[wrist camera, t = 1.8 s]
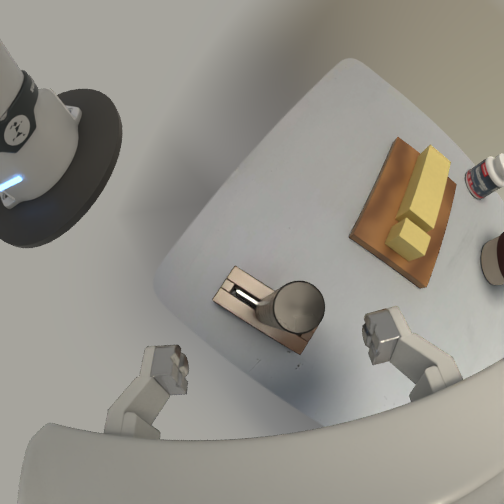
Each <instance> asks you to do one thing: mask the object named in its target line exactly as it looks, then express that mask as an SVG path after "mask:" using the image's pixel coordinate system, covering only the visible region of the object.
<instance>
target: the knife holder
mask: <svg viewBox="0 0 504 504" xmlns="http://www.w3.org/2000/svg"><path fill="white" fill-rule="evenodd" d="M234 288H237V289H239V290H240V291H242V292H243V293H245V294H246V295H248V296H249V297H251V298H253V299H254V300H256V301H257V302H259V301H260V300H261V299H263V298H264V297H266V296H268V295H269V294H271V293H273V292H274V290H273V289H271V288H270V287H268V286H266V285H265V284H263V283H262V282H260V281H259V280H257V279H255V278H254V277H252V276H251V275H249V274H248V273H246V272H244V271H243V270H241V269H240V268H238V267H237V266H234V268H233V269H232V271H231V272H230V274H229V275H228V277H227V279H226V280H225V281H224V283H223V284H222V286H221V288H220V289H219V290H218V292H217V293H216V295H215V296H214V298H213V299H212V300H213V301H214V302H215V303H217V304H218V305H220V306H222V307H223V308H225V309H226V310H228V311H229V312H231V313H232V314H234V315H235V316H237V317H239V318H240V319H242V320H243V321H245V322H246V323H248V324H250V325H251V326H253V327H254V328H256V329H258V330H259V331H261V332H262V333H264V334H266V335H267V336H269V337H271V338H272V339H274V340H276V341H277V342H279V343H281V344H282V345H284V346H286V347H287V348H289V349H291V350H292V351H294V352H296V353H297V354H299V355H301V353H302V352H303V350H304V348H305V347H306V345H307V344H308V342H309V340H310V339H311V337H312V335H313V334H314V332H315V330H316V329H317V327H318V326H317V327H316V328H315V329H313V330H312V331H310V332H308V333H305V334H292V333H289V332H286V331H283V330H280V329H277V328H274V327H271V326H268V325H265V324H263V323H261V322H260V321H259V320H258V318H257V316H256V312H255V309H254V308H252V307H251V306H249V305H248V304H246V303H244V302H243V301H241V300H240V299H238V298H237V297H235V296H234V295H232V294H231V293H232V292H233V290H234Z"/></svg>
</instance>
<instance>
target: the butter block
mask: <svg viewBox="0 0 504 504" xmlns="http://www.w3.org/2000/svg"><path fill="white" fill-rule="evenodd" d="M450 163H451V162H450V161H449V160H448V159H447V158H446V157H444V156H443V155H442V154H441V153H440V152H438V151H437V150H436V149H435V148H434V147H432V146H431V145H429V146H428V147H427V148H426V149H425V150H424V151H423V152H422V153H421V154H420V155H419V156H418V158H417V161H416V164H415V167H414V170H413V173H412V176H411V178H410V181H409V184H408V187H407V190H406V192H405V195H404V198H403V200H402V203H401V205H400V208H399V210H398V213H397V215H396V218H395V219H396V220H397V221H399V222H400V221H402V220H403V219H405V218H408V219H409V220H410V221H412V222H413V223H414V224H415V225H417V226H418V227H419V228H420V229H422V230H423V231H424V232H425V233H426V232H428V231H430V230H432V229H434V226H435V223H436V219H437V216H438V213H439V209H440V205H441V202H442V198H443V194H444V190H445V186H446V182H447V177H448V173H449V168H450Z"/></svg>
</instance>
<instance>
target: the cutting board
mask: <svg viewBox="0 0 504 504" xmlns="http://www.w3.org/2000/svg"><path fill="white" fill-rule="evenodd" d="M419 155H420V153H419V152H418V151H416V150H415V149H414V148H412V147H411V146H410V145H408V144H407V143H406V142H404V141H403V140H402V139H400V138H399V137H397V138H396V139H395V141H394V142H393V144H392V147H391V149H390V151H389V154H388V156H387V158H386V160H385V163H384V165H383V167H382V169H381V172H380V174H379V176H378V178H377V180H376V183H375V185H374V187H373V189H372V191H371V193H370V195H369V198H368V200H367V202H366V204H365V206H364V208H363V210H362V212H361V214H360V216H359V218H358V220H357V222H356V224H355V226H354V228H353V230H352V232H351V234H350V236H349V238H351V239H352V240H354V241H355V242H357V243H358V244H359V245H361V246H362V247H364V248H365V249H367V250H368V251H370V252H371V253H372V254H374V255H375V256H377V257H378V258H379V259H381V260H382V261H384V262H385V263H386V264H388V265H389V266H391V267H392V268H393V269H395V270H396V271H397V272H399V273H400V274H402V275H403V276H404V277H406V278H407V279H408V280H410V281H411V282H412V283H414V284H415V285H416V286H418V287H419V288H425V287H427V285H428V282H429V279H430V277H431V274H432V271H433V268H434V265H435V262H436V259H437V256H438V253H439V250H440V247H441V244H442V240H443V237H444V234H445V230H446V226H447V223H448V219H449V215H450V211H451V207H452V203H453V199H454V194H455V189H456V183H454V182H453V181H452V180H451V179H450V178H449V177H447V182H446V186H445V190H444V194H443V198H442V202H441V205H440V209H439V213H438V216H437V219H436V223H435V226H434V229H432V230H430V231H428V232H426V233H427V234H428V235H429V236H430V237H431V239H430V242H429V245H428V248H427V250H426V253H425V256H422V257H420V258H417V259H414V260H411V261H407V260H406V259H405V258H403V257H402V256H401V255H399V254H398V253H397V252H395V251H394V250H393V249H391V248H390V247H389V246H387V245H386V244H385V242H386V239H387V237H388V235H389V232H390V230H391V228H392V226H394V225H395V224H397V223H399V221H397V220H396V219H395V218H396V215H397V213H398V210H399V208H400V205H401V203H402V200H403V198H404V195H405V192H406V190H407V187H408V184H409V181H410V178H411V176H412V173H413V170H414V167H415V164H416V161H417V158H418V156H419Z"/></svg>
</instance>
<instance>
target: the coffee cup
mask: <svg viewBox="0 0 504 504" xmlns="http://www.w3.org/2000/svg"><path fill="white" fill-rule="evenodd" d="M481 263H482V269H483V272H484V275H485V277H486V279H487V280H488V281H489V282H490V283H491V284H493V285H503V284H504V232H503V233H502V234H501V235H500V236H498V237H496V238H494V239H492V240H490V241H489V242H487V243H486V244H485V245H484V247H483V250H482V255H481Z"/></svg>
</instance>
